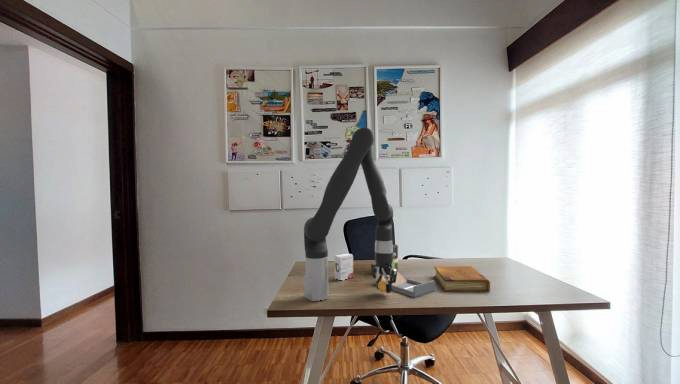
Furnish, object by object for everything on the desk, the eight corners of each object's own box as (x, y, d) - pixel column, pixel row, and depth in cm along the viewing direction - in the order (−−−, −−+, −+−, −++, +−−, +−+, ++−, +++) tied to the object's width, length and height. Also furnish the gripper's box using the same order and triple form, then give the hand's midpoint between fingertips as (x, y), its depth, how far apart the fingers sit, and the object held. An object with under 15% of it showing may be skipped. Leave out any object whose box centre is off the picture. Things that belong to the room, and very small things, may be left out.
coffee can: (400, 274, 168) (399, 247, 168) (380, 275, 168) (379, 247, 168) (396, 269, 179) (395, 243, 178) (377, 269, 178) (376, 243, 178)
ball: (383, 294, 135) (383, 282, 135) (375, 291, 139) (375, 279, 139) (392, 292, 138) (392, 280, 138) (384, 289, 142) (383, 277, 142)
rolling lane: (415, 298, 134) (414, 283, 134) (374, 285, 153) (374, 271, 153) (434, 291, 142) (434, 277, 142) (394, 279, 161) (394, 266, 161)
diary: (490, 293, 140) (490, 279, 140) (445, 292, 141) (444, 279, 141) (472, 277, 163) (472, 265, 163) (434, 277, 164) (434, 265, 164)
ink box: (347, 275, 168) (347, 252, 167) (354, 278, 164) (353, 254, 163) (334, 279, 162) (333, 255, 162) (340, 281, 158) (340, 257, 158)
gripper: (365, 249, 142) (366, 288, 142) (389, 254, 130) (389, 297, 131) (378, 247, 146) (378, 285, 147) (402, 252, 135) (402, 293, 135)
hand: (383, 290), depth 139 cm, fingers closed on ball, 5 cm apart
